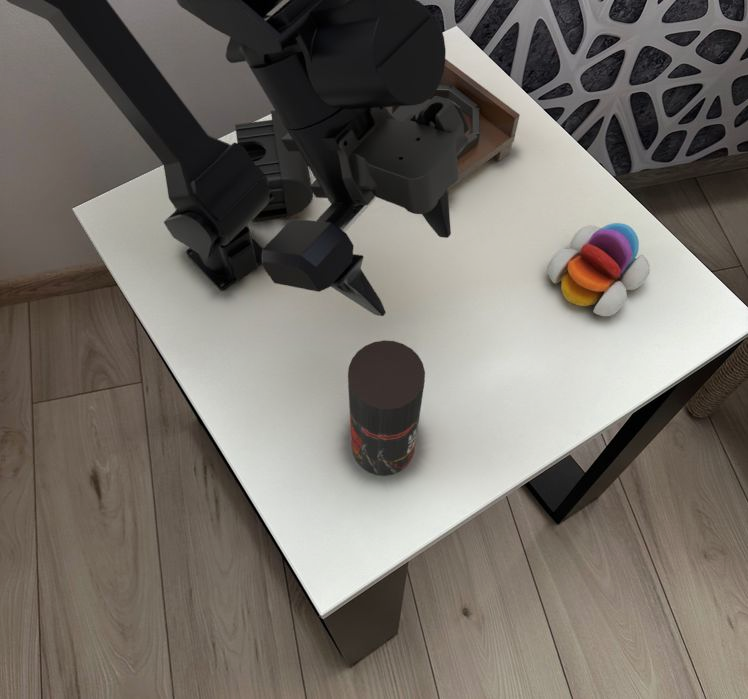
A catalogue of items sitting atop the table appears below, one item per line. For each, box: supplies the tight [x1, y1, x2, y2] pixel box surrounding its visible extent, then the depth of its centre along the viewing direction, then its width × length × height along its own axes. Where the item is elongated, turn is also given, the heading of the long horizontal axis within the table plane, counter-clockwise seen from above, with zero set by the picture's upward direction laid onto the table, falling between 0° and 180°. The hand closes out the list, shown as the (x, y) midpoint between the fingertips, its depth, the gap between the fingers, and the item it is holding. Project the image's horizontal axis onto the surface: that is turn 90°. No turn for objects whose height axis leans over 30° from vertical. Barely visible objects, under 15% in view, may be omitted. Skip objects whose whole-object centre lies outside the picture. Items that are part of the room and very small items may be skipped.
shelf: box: [386, 58, 521, 190], centre depth 87 cm, size 14×13×6 cm
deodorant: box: [347, 339, 426, 477], centre depth 66 cm, size 6×6×15 cm
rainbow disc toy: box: [547, 222, 651, 317], centre depth 78 cm, size 8×10×7 cm
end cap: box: [234, 110, 314, 222], centre depth 84 cm, size 10×7×7 cm
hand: (413, 274), depth 61 cm, fingers open, 9 cm apart
